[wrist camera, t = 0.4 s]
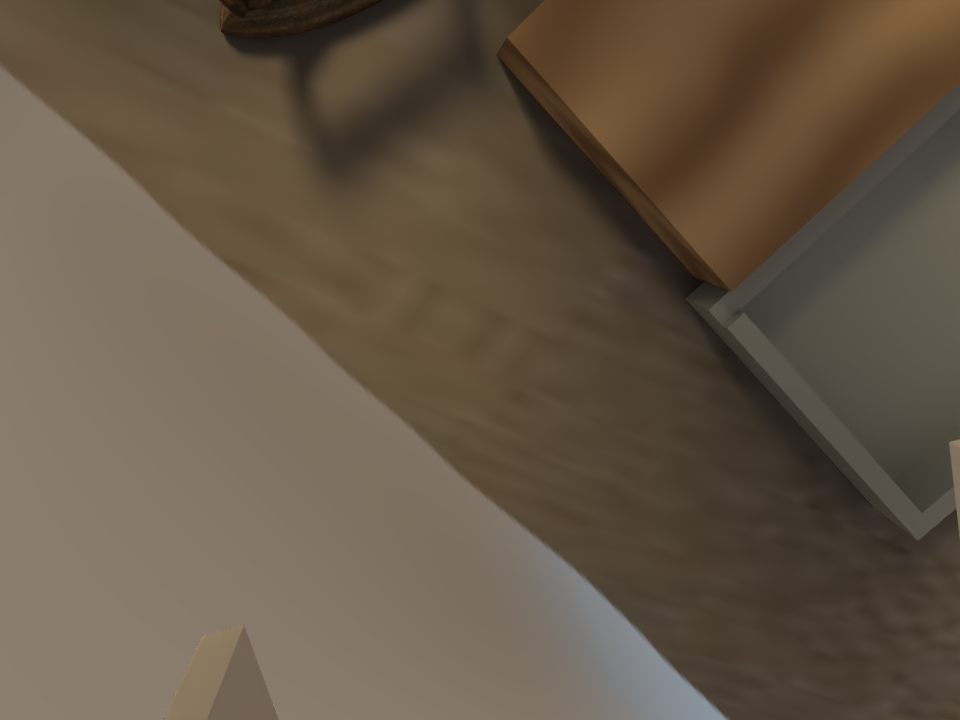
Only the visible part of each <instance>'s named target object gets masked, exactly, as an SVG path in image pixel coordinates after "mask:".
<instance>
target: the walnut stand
mask: <svg viewBox="0 0 960 720" xmlns="http://www.w3.org/2000/svg"><path fill="white" fill-rule="evenodd" d="M497 56H498V57H499V58H500V59H501V61H502V62H503V63H504V64H505V65H506V66H507V67H508V68H509V70H510V71H511V72H512V73H513V74H514V75H515V76H516V77H517V79H518V80H519V81H520V82H521V83H522V84H523V85H524V86H525V88H526V89H527V90H528V91H529V92H530V93H531V94H532V95H533V96H534V98H535V99H536V100H537V101H538V102H539V103H540V104H541V105H542V107H543V108H544V109H545V110H546V111H547V112H548V113H549V114H550V116H551V117H552V118H553V119H554V120H555V121H556V122H557V123H558V125H559V126H560V127H561V128H562V129H563V130H564V131H565V132H566V134H567V135H568V136H569V137H570V138H571V139H572V140H573V141H574V142H575V144H576V145H577V146H578V147H579V148H580V149H581V150H582V151H583V153H584V154H585V155H586V156H587V157H588V158H589V159H590V160H591V162H592V163H593V164H594V165H595V166H596V167H597V168H598V169H599V171H600V172H601V173H602V174H603V175H604V176H605V177H606V178H607V179H608V181H609V182H610V183H611V184H612V185H613V186H614V187H615V188H616V190H617V191H618V192H619V193H620V194H621V195H622V196H623V197H624V199H625V200H626V201H627V202H628V203H629V204H630V205H631V206H632V208H633V209H634V210H635V211H636V212H637V213H638V214H639V215H640V216H641V218H642V219H643V220H644V221H645V222H646V223H647V224H648V225H649V227H650V228H651V229H652V230H653V231H654V232H655V233H656V234H657V236H658V237H659V238H660V239H661V240H662V241H663V242H664V243H665V245H666V246H667V247H668V248H669V249H670V250H671V251H672V252H673V253H674V255H675V256H676V257H677V258H678V259H679V260H680V261H681V262H682V264H683V265H684V266H685V267H686V268H687V269H688V270H689V271H690V273H691V274H692V275H693V276H694V277H695V278H698V279H700V280H703V281H706V282H708V283H711V284H713V285H716V286H718V287H721V288H723V289H726V290H728V291H731V292H732V291H733V290H734V289H736V288H737V287H738V286H739V285H740V284H741V283H742V282H743V281H744V280H745V279H746V278H747V277H749V276H750V275H751V274H752V273H753V272H754V271H755V270H756V269H757V268H758V267H759V266H761V265H762V264H763V263H764V262H765V261H766V260H767V259H768V258H769V257H770V256H771V255H773V254H774V253H775V252H776V251H777V250H778V249H779V248H780V247H781V246H782V245H783V244H784V243H786V242H787V241H788V240H789V239H790V238H791V237H792V236H793V235H794V234H795V233H796V232H798V231H799V230H800V229H801V228H802V227H803V226H804V225H805V224H806V223H807V222H808V221H810V220H811V219H812V218H813V217H814V216H815V215H816V214H817V213H818V212H819V211H820V210H822V209H823V208H824V207H825V206H826V205H827V204H828V203H829V202H830V201H831V200H832V199H833V198H835V197H836V196H837V195H838V194H839V193H840V192H841V191H842V190H843V189H844V188H845V187H847V186H848V185H849V184H850V183H851V182H852V181H853V180H854V179H855V178H856V177H857V176H859V175H860V174H861V173H862V172H863V171H864V170H865V169H866V168H867V167H868V166H869V165H870V164H872V163H873V162H874V161H875V160H876V159H877V158H878V157H879V156H880V155H881V154H882V153H884V152H885V151H886V150H887V149H888V148H889V147H890V146H891V145H892V144H893V143H894V142H896V141H897V140H898V139H899V138H900V137H901V136H902V135H903V134H904V133H905V132H906V131H908V130H909V129H910V128H911V127H912V126H913V125H914V124H915V123H916V122H917V121H918V120H919V119H921V118H922V117H923V116H924V115H925V114H926V113H927V112H928V111H929V110H930V109H931V108H933V107H934V106H935V105H936V104H937V103H938V102H939V101H940V100H941V99H942V98H943V97H945V96H946V95H947V94H948V93H949V92H950V91H951V90H952V89H953V88H954V87H955V86H956V85H958V84H959V83H960V0H544V1H543V2H542V3H541V4H540V5H539V6H538V7H537V8H536V9H535V10H534V11H533V12H532V13H531V14H530V15H529V16H528V17H527V18H526V19H525V20H524V21H523V22H522V23H521V24H520V25H519V26H518V27H517V28H516V29H515V30H514V31H513V32H512V33H511V34H510V35H509V36H508V37H507V38H506V40H505V42H504V44H503V45H502V47H501V49H500V50H499V52H498V54H497Z"/></svg>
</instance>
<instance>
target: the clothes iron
mask: <svg viewBox="0 0 960 720" xmlns="http://www.w3.org/2000/svg"><path fill="white" fill-rule="evenodd" d="M220 1H221V2H222V10H221V22H220V27H221V32H222V33H224V34H228V35H233V36H237V37H244V38H264V37H279V36H286V35H291V34H296V33H300V32H305V31H309V30H313V29H316V28H319V27H322V26H325V25H327V24H330V23H334V22H337V21H340V20H342V19H345V18H347V17H349V16H352V15H354V14H356V13H358V12H360V11H362V10H364V9H366V8H368V7H370V6H372V5H374V4H376V3H378V2H380V1H381V0H220Z"/></svg>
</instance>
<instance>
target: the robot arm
mask: <svg viewBox="0 0 960 720" xmlns="http://www.w3.org/2000/svg"><path fill="white" fill-rule="evenodd" d="M949 447H950V456H951V465H952V474H953V482H954V491H955V500H956V509H957V518H958V527H959V536H960V439H959V440H955V441H951V442H949ZM163 720H278V717H277V714H276V711H275V709H274V706H273V703H272V700H271V698H270V695H269V692H268V689H267V687H266V684H265V681H264V679H263V676H262V673H261V670H260V667H259V665H258V662H257V659H256V657H255V654H254V651H253V648H252V645H251V643H250V640H249V637H248V635H247V632H246V629H245V626H244V625H242V626H239V627H235V628H231V629H227V630H223V631H219V632H215V633H212V634H208V635H204V636H202V639H201V641H200V643H199V645H198V647H197V649H196V651H195V653H194V656H193V658H192V660H191V662H190V664H189V666H188V668H187V670H186V673H185V675H184V677H183V679H182V681H181V683H180V685H179V688H178V690H177V692H176V694H175V696H174V698H173V700H172V702H171V704H170V707H169V709H168V711H167V713H166V715H165V717H164V719H163Z"/></svg>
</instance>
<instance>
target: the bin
mask: <svg viewBox="0 0 960 720" xmlns="http://www.w3.org/2000/svg"><path fill="white" fill-rule="evenodd" d="M686 300H687V301H688V302H689V303H690V305H691V306H692V307H693V308H694V309H695V310H696V311H697V312H698V313H699V315H700V316H701V317H702V318H703V319H704V320H705V321H706V322H707V323H708V325H709V326H710V327H711V328H712V329H713V330H714V331H715V332H716V333H717V334H718V336H719V337H720V338H721V339H722V340H723V341H724V342H725V343H726V344H727V346H728V347H729V348H730V349H731V350H732V351H733V352H734V353H735V354H736V356H737V357H738V358H739V359H740V360H741V361H742V362H743V363H744V364H745V366H746V367H747V368H748V369H749V370H750V371H751V372H752V373H753V374H754V376H755V377H756V378H757V379H758V380H759V381H760V382H761V383H762V384H763V385H764V387H765V388H766V389H767V390H768V391H769V392H770V393H771V394H772V395H773V397H774V398H775V399H776V400H777V401H778V402H779V403H780V404H781V405H782V407H783V408H784V409H785V410H786V411H787V412H788V413H789V414H790V415H791V417H792V418H793V419H794V420H795V421H796V422H797V423H798V424H799V425H800V427H801V428H802V429H803V430H804V431H805V432H806V433H807V434H808V435H809V437H810V438H811V439H812V440H813V441H814V442H815V443H816V444H817V445H818V446H819V448H820V449H821V450H822V451H823V452H824V453H825V454H826V455H827V456H828V458H829V459H830V460H831V461H832V462H833V463H834V464H835V465H836V466H837V468H838V469H839V470H840V471H841V472H842V473H843V474H844V475H845V476H846V478H847V479H848V480H849V481H850V482H851V483H852V484H853V485H854V486H855V488H856V489H857V490H858V491H859V492H860V493H861V494H862V495H863V496H864V497H865V499H866V500H867V501H868V502H869V503H870V504H871V505H872V506H873V507H874V508H875V509H876V510H877V511H879V512H880V513H881V514H883V515H884V516H885V517H887V518H888V519H889V520H891V521H892V522H893V523H895V524H896V525H897V526H899V527H900V528H901V529H903V530H904V531H905V532H907V533H908V534H909V535H911V536H912V537H913V538H915V539H916V540H917V541H918V540H920V539H921V538H922V537H923V536H924V535H925V534H927V533H928V532H929V531H930V530H931V529H933V528H934V527H935V526H936V525H937V524H938V523H940V522H941V521H942V520H943V519H944V518H946V517H947V516H948V515H949V514H950V513H951V512H953V511H954V510H955V509H956V500H955V491H954V482H953V474H952V465H951V456H950V447H949V442H951V441H955V440H959V439H960V83H959V84H958V85H956V86H955V87H954V88H953V89H952V90H951V91H950V92H949V93H948V94H947V95H946V96H945V97H943V98H942V99H941V100H940V101H939V102H938V103H937V104H936V105H935V106H934V107H933V108H931V109H930V110H929V111H928V112H927V113H926V114H925V115H924V116H923V117H922V118H921V119H919V120H918V121H917V122H916V123H915V124H914V125H913V126H912V127H911V128H910V129H909V130H908V131H906V132H905V133H904V134H903V135H902V136H901V137H900V138H899V139H898V140H897V141H896V142H894V143H893V144H892V145H891V146H890V147H889V148H888V149H887V150H886V151H885V152H884V153H882V154H881V155H880V156H879V157H878V158H877V159H876V160H875V161H874V162H873V163H872V164H870V165H869V166H868V167H867V168H866V169H865V170H864V171H863V172H862V173H861V174H860V175H859V176H857V177H856V178H855V179H854V180H853V181H852V182H851V183H850V184H849V185H848V186H847V187H845V188H844V189H843V190H842V191H841V192H840V193H839V194H838V195H837V196H836V197H835V198H833V199H832V200H831V201H830V202H829V203H828V204H827V205H826V206H825V207H824V208H823V209H822V210H820V211H819V212H818V213H817V214H816V215H815V216H814V217H813V218H812V219H811V220H810V221H808V222H807V223H806V224H805V225H804V226H803V227H802V228H801V229H800V230H799V231H798V232H796V233H795V234H794V235H793V236H792V237H791V238H790V239H789V240H788V241H787V242H786V243H784V244H783V245H782V246H781V247H780V248H779V249H778V250H777V251H776V252H775V253H774V254H773V255H771V256H770V257H769V258H768V259H767V260H766V261H765V262H764V263H763V264H762V265H761V266H759V267H758V268H757V269H756V270H755V271H754V272H753V273H752V274H751V275H750V276H749V277H747V278H746V279H745V280H744V281H743V282H742V283H741V284H740V285H739V286H738V287H737V288H736V289H734V290H733V291H732V292H731V291H728V290H726V289H723V288H721V287H718V286H716V285H713V284H711V283H708V282H706V281H704V282H703V283H702V284H701V285H700V286H699V287H698V288H696V289H695V290H694V291H693V292H692V293H691V294H690V295H689V296H688V297H687V298H686Z"/></svg>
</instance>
